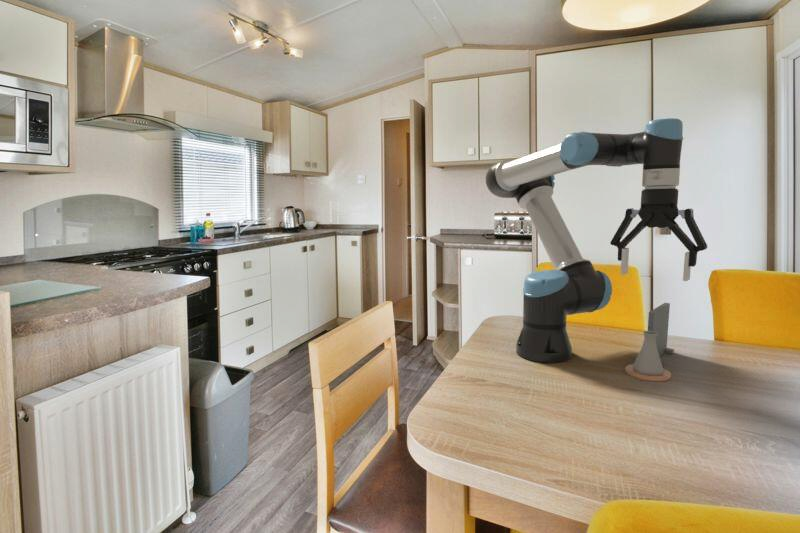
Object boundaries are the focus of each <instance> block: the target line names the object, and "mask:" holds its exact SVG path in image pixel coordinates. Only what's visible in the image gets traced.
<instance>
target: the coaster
mask: <svg viewBox="0 0 800 533" xmlns="http://www.w3.org/2000/svg"><path fill="white" fill-rule="evenodd" d="M633 364H634V363H632V364H628V365H626V366H625V368H624V371H625V373H626V374H627V375H629V376H630V377H632V378H635V379H638V380H641V381H646V382H654V383H656V382H657V383H658V382H660V383H661V382H667V381H670V380H671V379H672V373H671V372H670V371H668V370H667V369H664V368H663V369H664V375H647V374H641V373H638V372H637V371H635V370H633V369H632V368H633Z"/></svg>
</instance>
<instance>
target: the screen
mask: <svg viewBox="0 0 800 533" xmlns="http://www.w3.org/2000/svg"><path fill="white" fill-rule="evenodd" d="M670 306H671V303H669V302H664V303H662V304H660V305H659V306H657V307H655V308H653V309H652V310H650V311H649V312H648V320H647V321H648V322H647V331H654V332H657V333H658V335H657V336H656V346H657V350H658V354H659V357H661V356H662V355H664V354H668V355H673V354H674V353H675V349H674V348H670V347H668V346H667V345H668V336H669V335H668V334H669V322H670V321H669V320H670V308H671V307H670Z"/></svg>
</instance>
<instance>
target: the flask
mask: <svg viewBox="0 0 800 533" xmlns="http://www.w3.org/2000/svg"><path fill="white" fill-rule="evenodd" d="M657 335H658V333H657V332H654V331H648V330H643V336H644V338H643V342H642V346H641V348H640V350H639V353H638V355H637V357H636V359H635V360H634V362H633V363H632V364H633V368H632V369H633V370H635V371H637V372H638V373H641V374H647V375H664V366H663V364H662V360H661V358H660V357H661V356H660V357H659V354H658V350H657V346H656V336H657Z"/></svg>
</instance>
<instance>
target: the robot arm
mask: <svg viewBox="0 0 800 533" xmlns="http://www.w3.org/2000/svg"><path fill="white" fill-rule="evenodd" d="M683 125H684V124H683V121H682V120H681V119H679V118H674V117H673V118H672V117H671V118H670V117H669V118H659V119H652V120H649V121H647V122H646V124H645V127H644V128H645V129H644V130H643V131H642V132H637V133H628V134H627V133H626V134H624V133H623V134H622V133H620V134H619V133H602V132H601V133H600V132H587V131H580V132H572V133H569V134H567V135H566V137H565V138H564V139H563V140H562V141H561V142H559V143H556V144H553V145H551V146H547V147H546V148H543V149H540V150H537V151H535V152H532V153H529V154H526V155H524V156H522V157H518V158H515V159H513V160H512V159H504V160H501V161H498V162H496V163H494V164H492V165H491V166H490V167H489V169H488V170H487V172H486V174H485V184H486V187H487V189H488V191H489V192H490V193H491V194H492V195H494V196H495V197H498V198H502V199H505V198H506V199H511V198H512V199H515V200H516V201H517V202H516V203H517V204H518V205H519V208H521V209H524V210H526V211H527V213H528V215H529V218H530V220H531V223H532V224H533V226H534V229H535V230H536V232H537V235H538V236H539V239H540V241H541V244H542V246H543V247H544V250H545V251H546V253H547V256H548V258H549V260H550V262H551V264H552V266H553V269H544V270H539V271H534V272H531V273H529V274H528V275H527V276H526V277H525V278H524V282H523V284H524V285H523V290H522V293H523V309H522V310H523V312H522V328H521V329H520V333H519V334H518V335H519V336H518V338H517V341H516V343H515V344H516V345H515V348H516V349H515V352H516V354H517V355H518V356H520V357H521V358H524V359H526V360H529V361H533V362H541V363H562V362H565V361H568V360H570V359H571V358H573V347H572V344H571V340H570V336H569V334H568V332H567V316H571V315H578V314H585V313H593V312H596V311H600V310H602V309H604V308H605V307H606V306H607V305H608V304H609V302H610V301H611V297H612V294H613V284H612V282H611V279H610V277H609V276H608V275H607V274H606V273H605V272H603V271H601V270H596V269H595V267H594V266H593V263H592V261H591V260H589V259H586V258H584V257H583V256H582V254H581V253H580V252H581V251H580V250H579V248H578V246H577V244H576V243H575V240H574V238H573V236H572V234H571V233H570V230H569V228H568V227H567V224H566V223H565V221H564V219H563V217H562V215H561V213H560V211H559V209H558V207H557V205H556V204H555V201H554V199H553V197H552V196H553V194H554V188H555V182H554V181H555V176H556V175H559V174H561V173H565V172H568V171H569V172H570V171H572V170H577V169H579V168H583V167H586V166H606V167H618V168H619V167H623V166H631V165H642V179H641V180H642V182H641V183H642V185H641V187H643V188H644V189H642V190H641V196H640V207H639V209H634V208H632V207H631V208H627V209H626V210H625V214H624V218H623V220H622V222H621V223H620V225H619V226H618V228H617V230H616V232H615V233H614V235H613V237H612V239H611V241H610V245H612V246H614V247H616V248H617V261H619V262H620V275H627V274H629V273H628V272H629V257H630V247H627V246H628V245H629V244H630V243H631V242H632V241H633V240H634V239H635V238H636V237H637V236H638V235H639V234H640V233H641V232H642V231H643V230H644V229H645V228H646V227H647V228H658V229H665V228H668V229H669V230H670V231H671V232H672V233H673V234H674V235H675V236H676V237H677V239H678V240H679V241H680V242H681V243H682V245H683V246H684V247H685V248H686V249H687V250H688V251H686V252H685V253H684V260H683V275H682V281H683V282H688V281H690V279H691V270H692V269H691V268H693V267H695V266H696V265H697V261H698V260H697V259H698V252H701V251H705V250H707V249H708V244H707V242H706V240H705V238H704V236H703V235H702V234H703V233H702V232H701V230H700V229H699V226H698V224H697V222H696V220H695V219H694V218H695V217H694V209H693V208H686V209H679V208H678V199H679V189H678V188H676V187H678V186H679V185H680V176H681V174H680V172H681V155H682V147H683V140H684V137H683V129H684V128H683ZM637 215H638V217H639V218H640V219H641V220H640V221H639V222H638V223H637V224H636V225H635V227H634V228H632V229H631V231H630V232H629V233H628V234H627V235H626V236H625V237H624V238H623V236H624V235H625V233H626V232H627V230H628V228H629V227H630V226H631V223H632V221H633V219H634V218H636V217H637ZM679 216H680V217H681V218H682V219H683V220H685V224H686V226H687V228H688V230H689V231H690V234H691V236H692V238H693V240H694V242H695V243H694V242H693V241H692V240H691V239H690V237H689V236H688V235H687V234H686V233H685V232H684V230H683V229H682V228H681V227H680V226H679V224H678V223H677V221H676V219H677V218H678V217H679ZM622 238H623V239H622ZM621 239H622V240H621Z"/></svg>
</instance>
